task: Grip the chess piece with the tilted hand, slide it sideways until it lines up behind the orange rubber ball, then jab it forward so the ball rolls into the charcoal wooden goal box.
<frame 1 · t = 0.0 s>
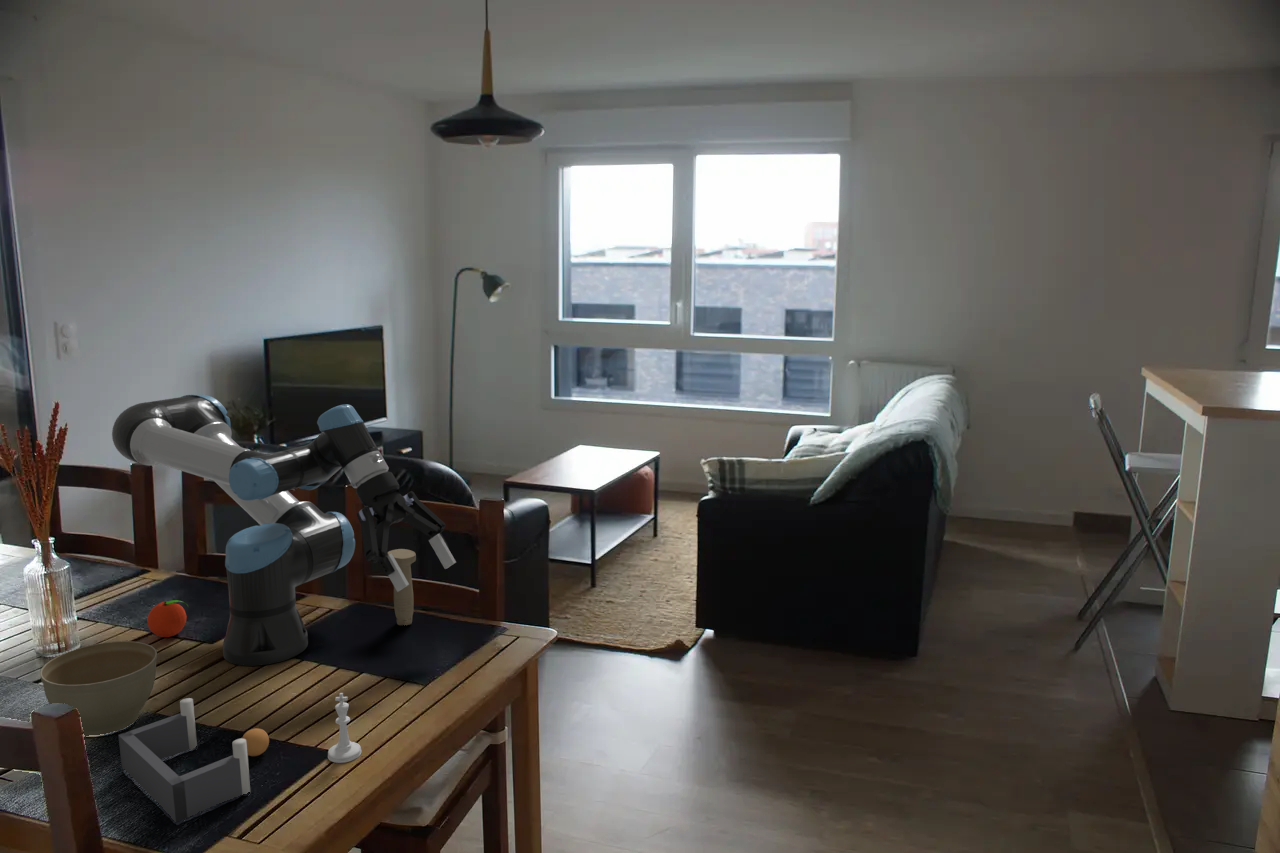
hand: (427, 576, 173), 15 cm above the table, tool tilted 35°, fingers open, 13 cm apart
clementine: (171, 635, 184), on the table
chess piece: (344, 755, 141), on the table
handle: (404, 624, 190), on the table
goal: (188, 781, 134), on the table
planter bowl: (107, 725, 149), on the table
ball: (254, 742, 140), point 2 cm above the table
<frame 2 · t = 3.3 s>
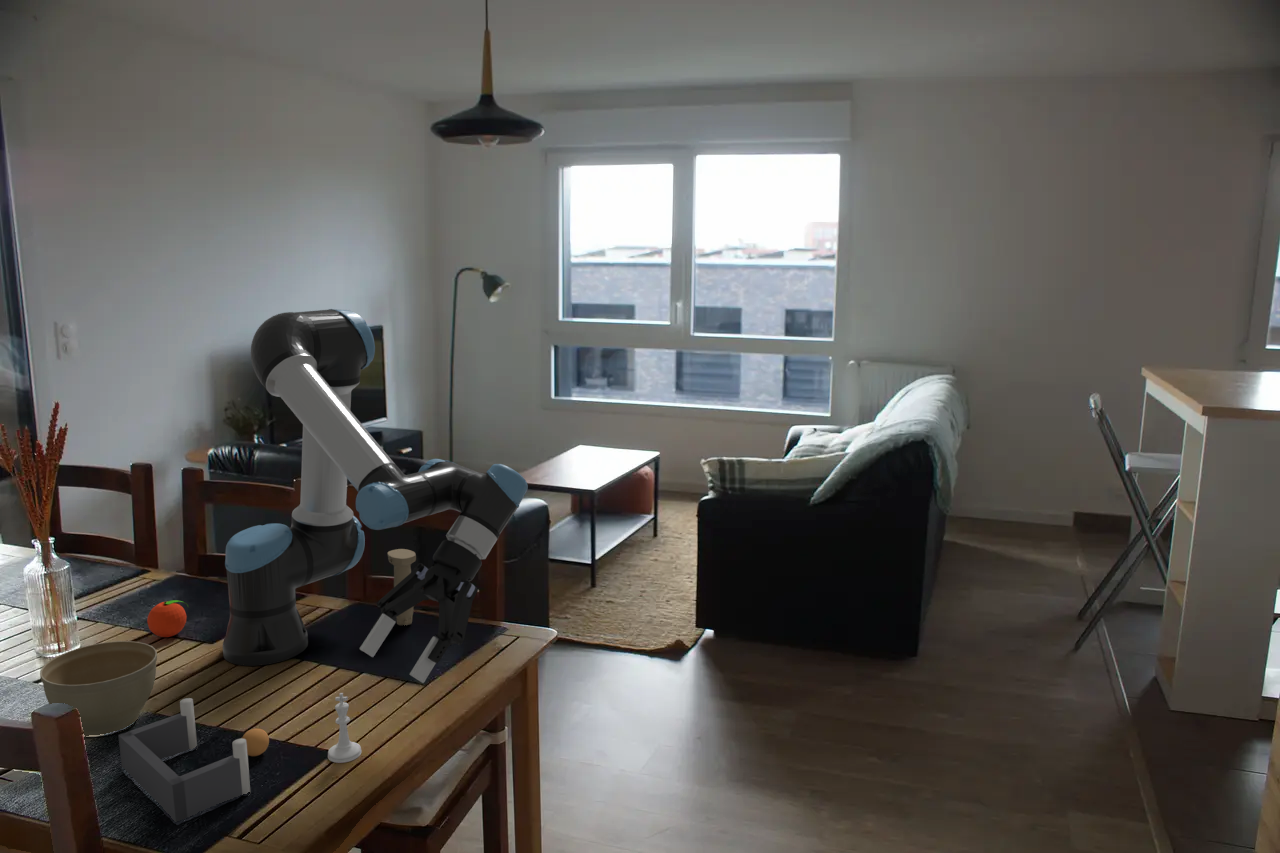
hand: (390, 665, 144), 12 cm above the table, tool tilted 45°, fingers open, 13 cm apart
nothing on the table moved.
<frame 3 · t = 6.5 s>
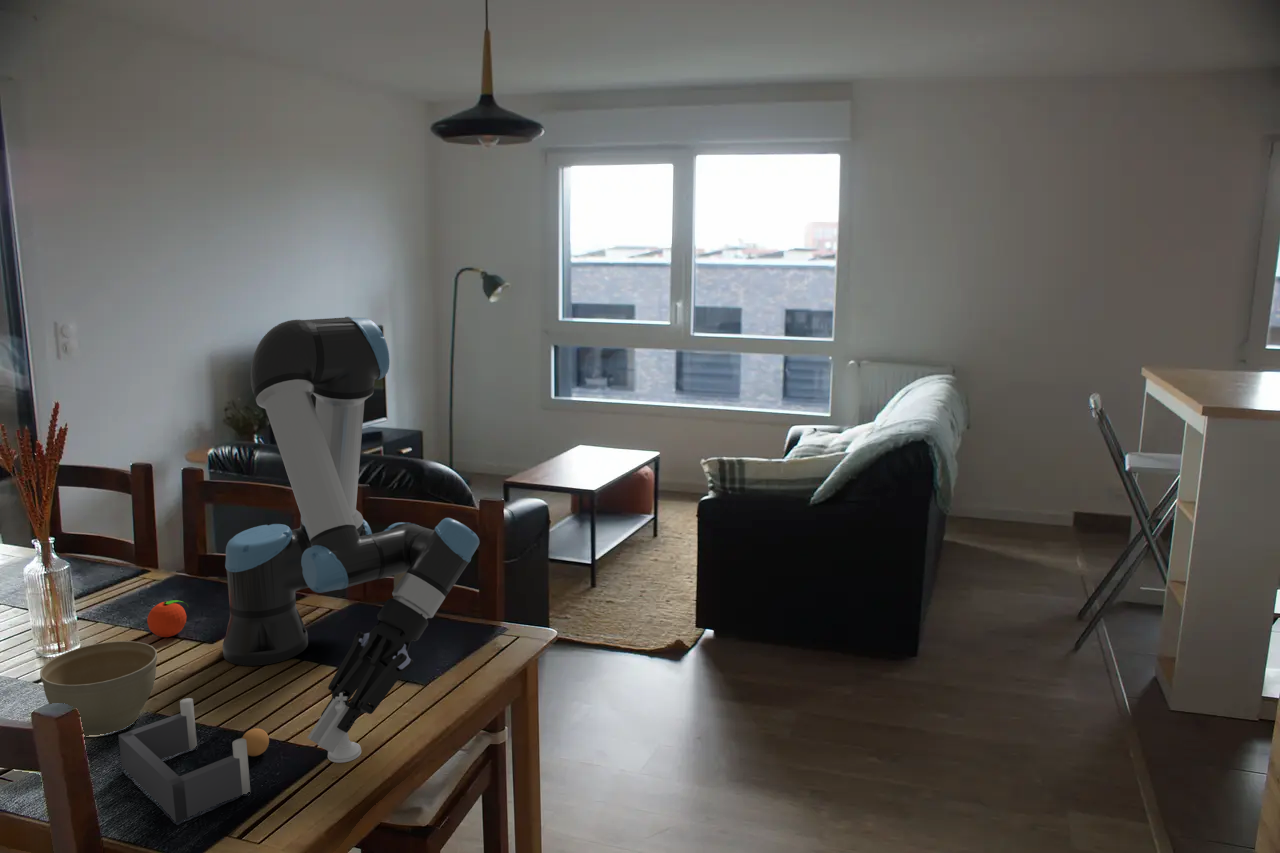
hand: (319, 745, 138), 3 cm above the table, tool tilted 45°, fingers closed on chess piece, 2 cm apart
chess piece: (344, 755, 141), on the table, touching gripper
everything else where it was.
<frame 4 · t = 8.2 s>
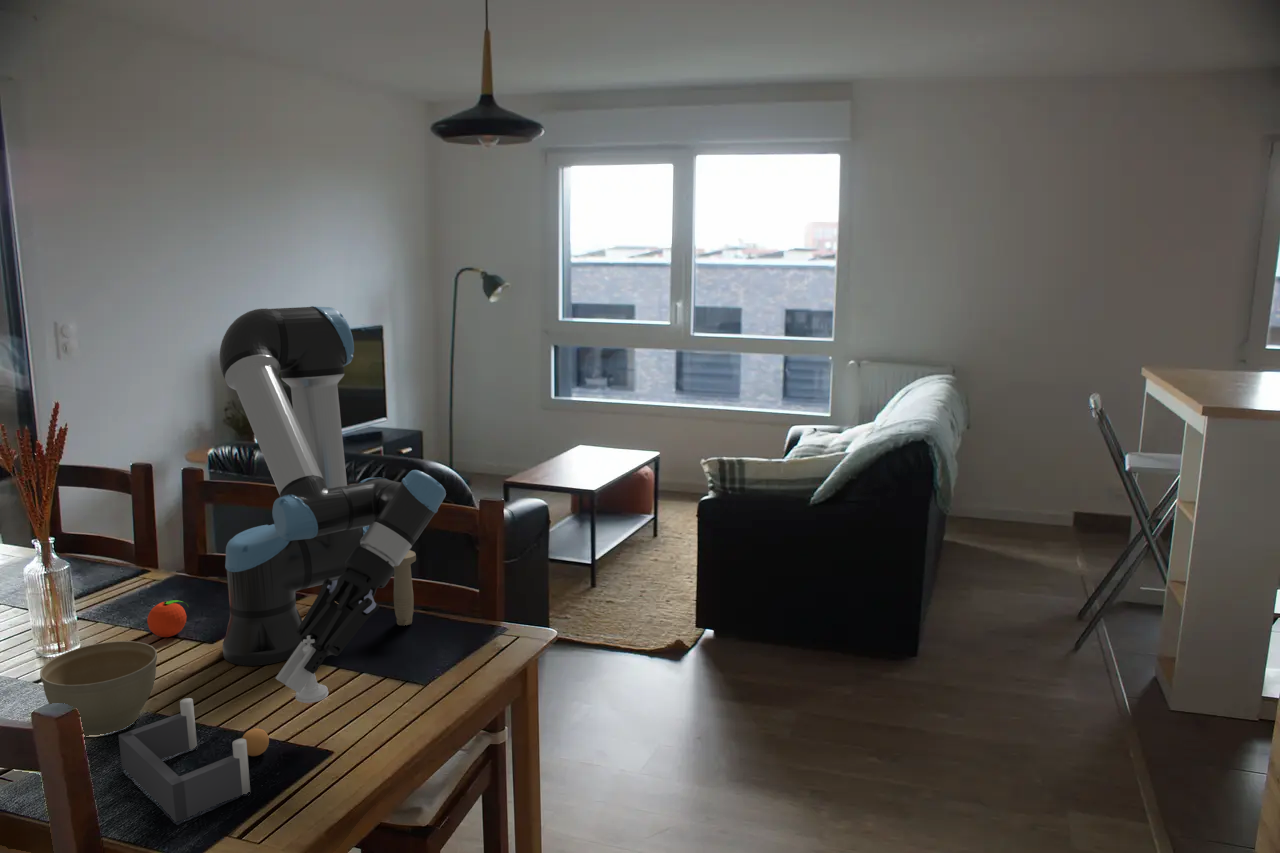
hand: (287, 685, 142), 10 cm above the table, tool tilted 45°, fingers closed on chess piece, 2 cm apart
chess piece: (312, 696, 146), point 6 cm above the table, touching gripper
everything else where it was.
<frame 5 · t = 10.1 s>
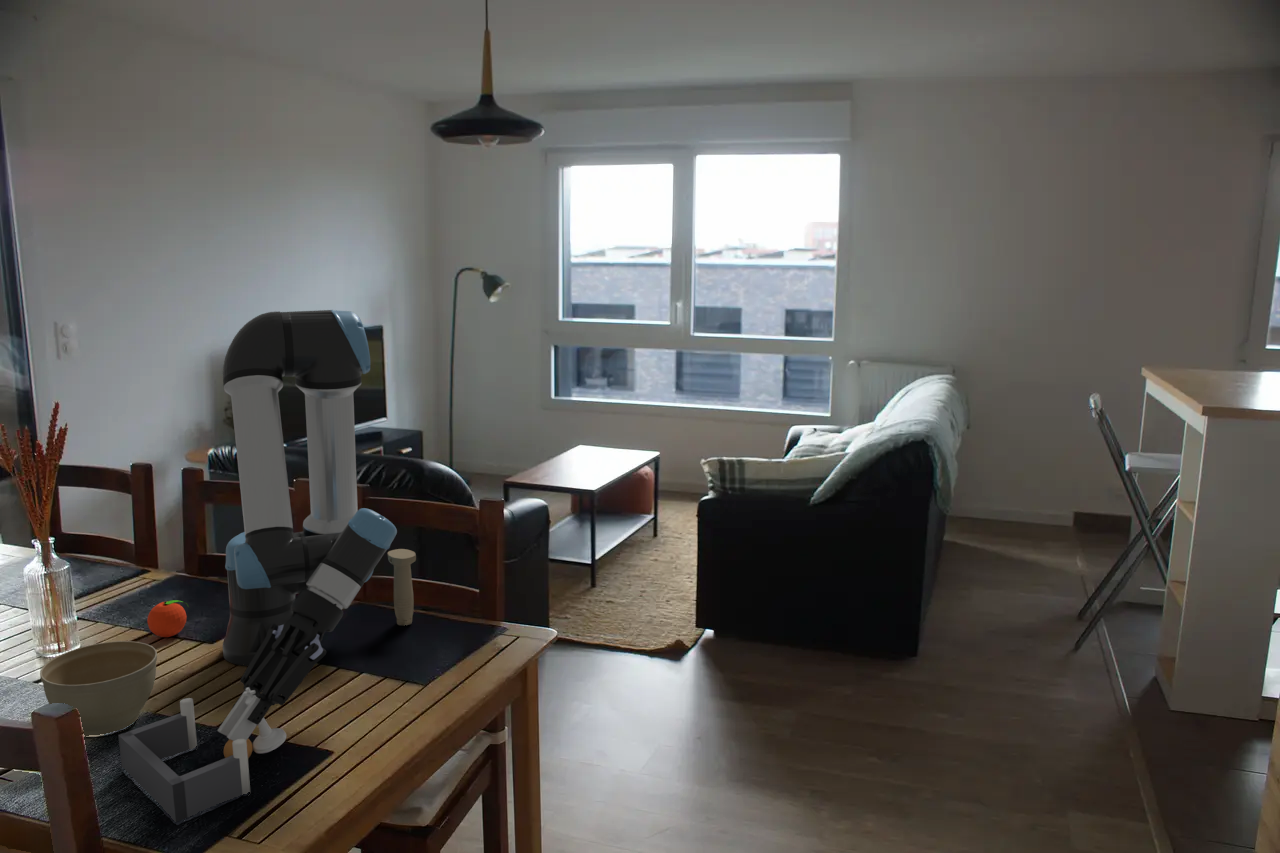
hand: (230, 737, 136), 5 cm above the table, tool tilted 45°, fingers closed on chess piece, 2 cm apart
chess piece: (270, 743, 141), point 2 cm above the table, touching gripper
ball: (238, 749, 139), point 2 cm above the table, tilted 78°, touching gripper
everything else where it was.
when the fingers open (5 cm above the table, at t = 11.4 s): chess piece drops 1 cm, on the table.
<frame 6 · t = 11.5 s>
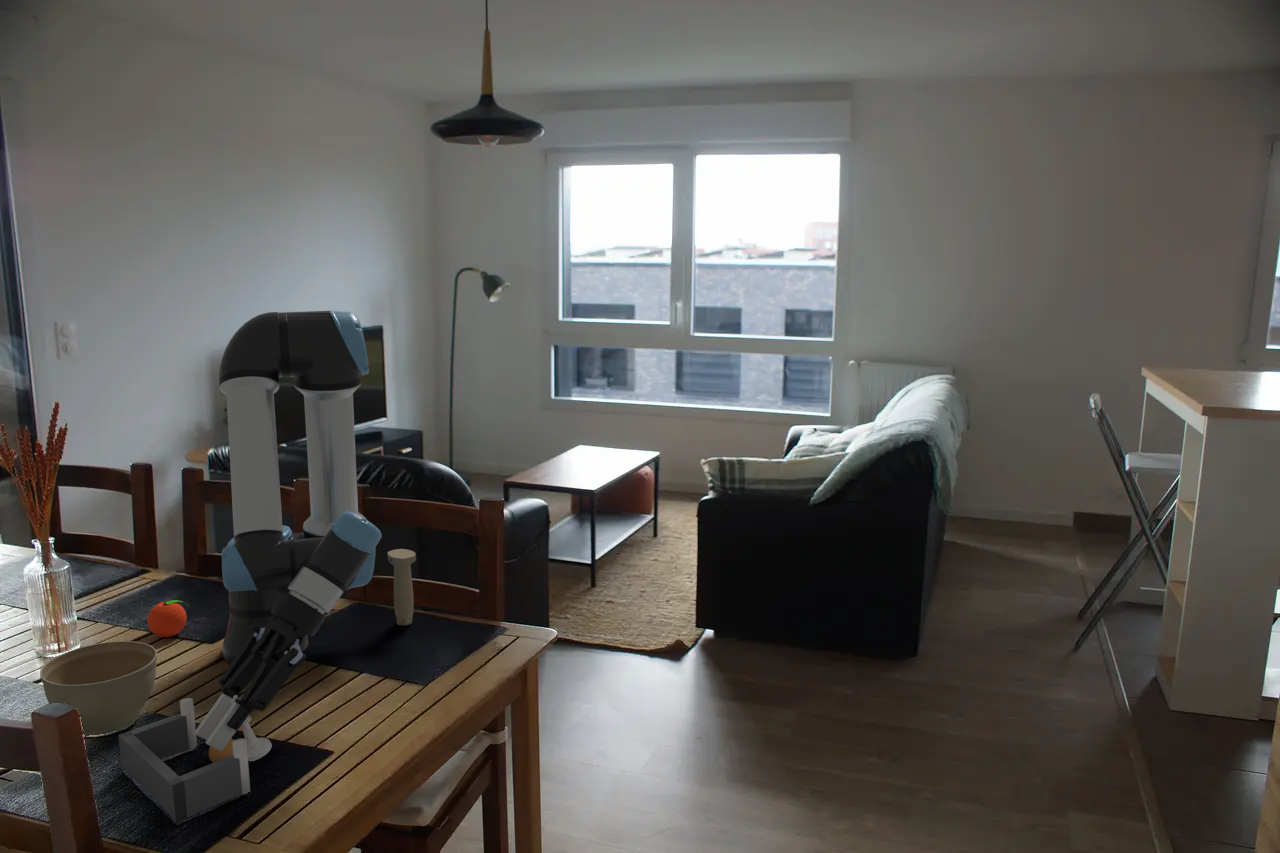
hand: (207, 741, 135), 5 cm above the table, tool tilted 45°, fingers open, 3 cm apart
chess piece: (255, 752, 141), on the table
ball: (223, 750, 138), point 2 cm above the table, tilted 105°
everything else where it was.
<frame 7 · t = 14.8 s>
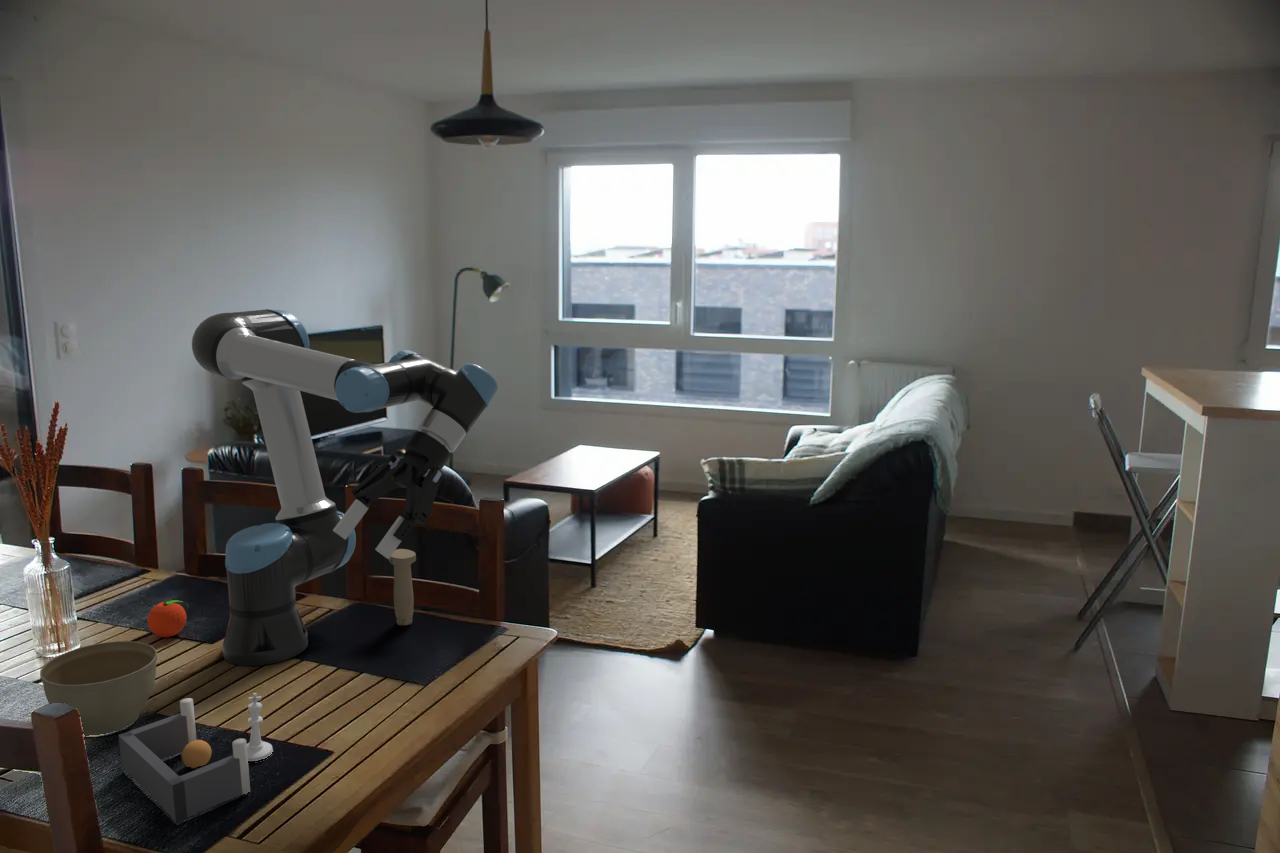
hand: (359, 544, 153), 28 cm above the table, tool tilted 45°, fingers open, 13 cm apart
ball: (196, 754, 137), point 2 cm above the table, tilted 150°
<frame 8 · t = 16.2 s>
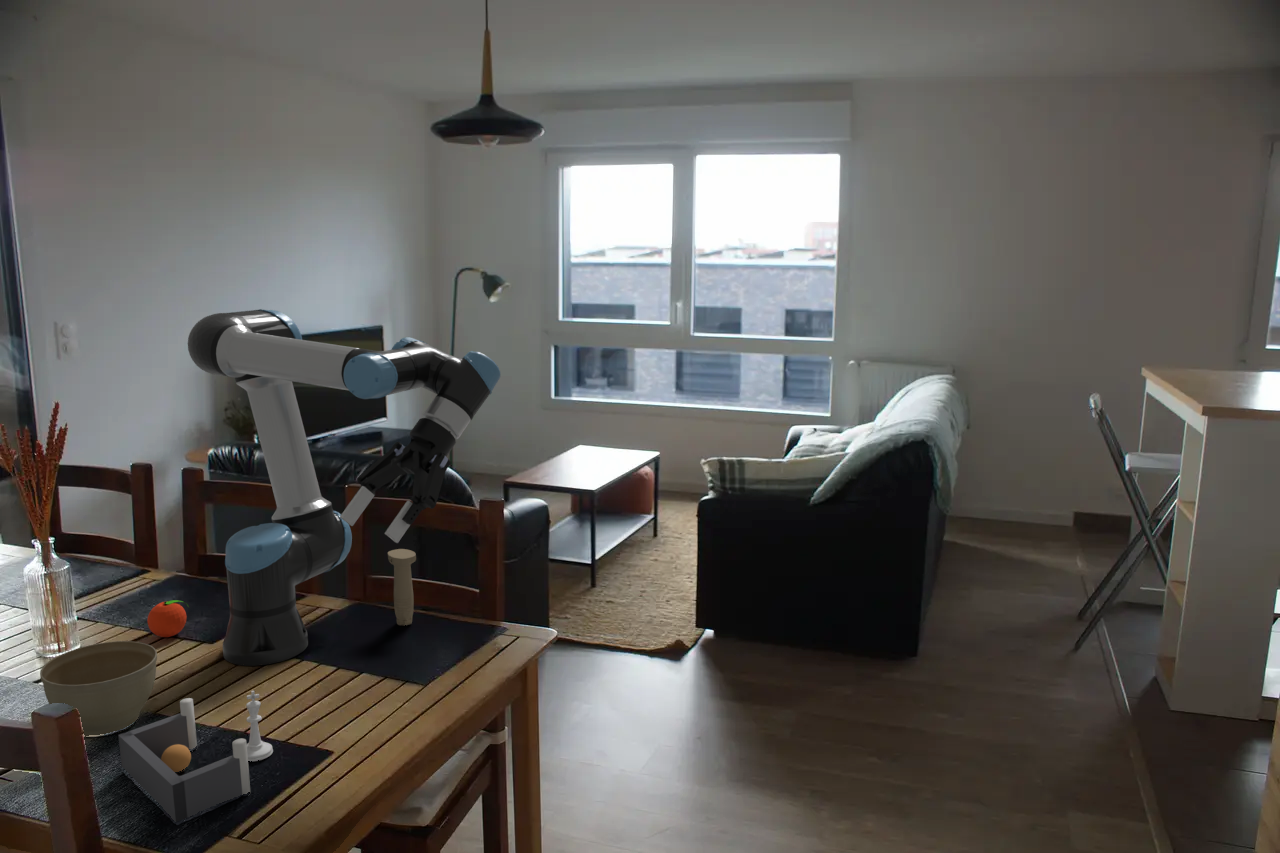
hand: (367, 529, 154), 30 cm above the table, tool tilted 45°, fingers open, 13 cm apart
ball: (176, 758, 136), point 2 cm above the table, tilted 83°
at the end: ball inside the target area on the goal (4.7 cm from its centre), point 2.0 cm above the goal's base; chess piece moved 13.4 cm from its start; the gripper is holding nothing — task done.
